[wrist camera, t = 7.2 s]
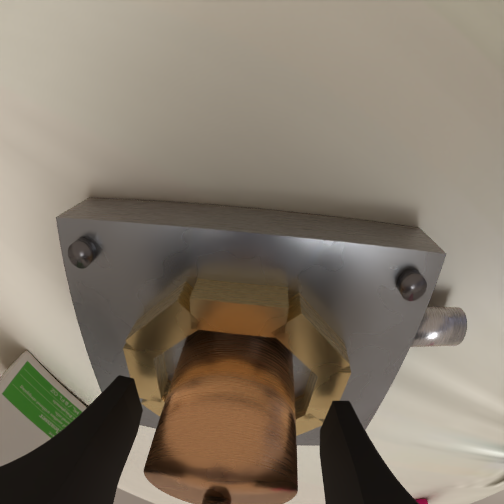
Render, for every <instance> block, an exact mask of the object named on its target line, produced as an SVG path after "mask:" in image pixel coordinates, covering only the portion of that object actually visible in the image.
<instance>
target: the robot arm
mask: <svg viewBox="0 0 504 504" xmlns="http://www.w3.org/2000/svg"><path fill="white" fill-rule="evenodd" d="M142 412H143V409H142V405H141V402H140V398H139V395H138V391H137V388H136V384H135V380H134V378H130V377H125V376H121V375H119V376H117V377H116V378H115V379H114V381H113V382H112V383H111V384H110V385H109V386H108V387H107V388H106V389H105V390H104V391H103V392H102V393H101V394H100V395H99V396H98V397H97V398H96V399H95V400H94V401H93V402H92V403H91V404H90V405H89V406H88V407H87V408H86V409H85V410H84V411H83V412H82V413H81V414H80V415H79V416H78V417H77V418H75V419H74V420H73V421H72V422H71V423H70V424H69V425H67V426H66V427H65V428H64V429H63V430H61V431H60V432H59V433H58V434H56V435H55V436H54V437H52V438H51V439H50V440H48V441H47V442H45V443H44V444H42V445H41V446H39V447H38V448H36V449H34V450H33V451H31V452H29V453H28V454H26V455H24V456H22V457H20V458H18V459H16V460H14V461H12V462H10V463H7V464H5V465H3V466H0V504H113V502H114V497H115V492H116V489H117V485H118V482H119V479H120V476H121V473H122V471H123V468H124V465H125V463H126V460H127V458H128V455H129V453H130V450H131V448H132V445H133V442H134V440H135V437H136V435H137V432H138V428H139V424H140V420H141V416H142ZM320 459H321V467H322V476H323V484H324V492H325V501H326V504H419V503H418V502H417V501H416V500H415V499H414V498H413V497H412V496H411V495H410V494H409V493H408V492H407V491H406V490H405V488H404V487H403V486H402V485H401V484H400V482H399V481H398V480H397V479H396V477H395V476H394V475H393V473H392V472H391V471H390V469H389V468H388V467H387V465H386V464H385V462H384V461H383V459H382V458H381V456H380V455H379V453H378V452H377V450H376V448H375V447H374V445H373V443H372V442H371V440H370V438H369V437H368V435H367V433H366V431H365V429H364V428H363V426H362V424H361V422H360V420H359V418H358V416H357V414H356V412H355V410H354V408H353V406H352V404H351V402H350V401H332V404H331V406H330V408H329V411H328V413H327V415H326V417H325V420H324V422H323V424H322V426H321V429H320Z"/></svg>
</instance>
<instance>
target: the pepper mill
mask: <svg viewBox="0 0 504 504" xmlns="http://www.w3.org/2000/svg"><path fill="white" fill-rule="evenodd" d="M416 501H417V502H418V503H419V504H428V502H427V500H426V499H417V500H416Z"/></svg>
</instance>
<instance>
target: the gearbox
mask: <svg viewBox="0 0 504 504" xmlns="http://www.w3.org/2000/svg"><path fill="white" fill-rule="evenodd" d="M56 220H57V227H58V233H59V240H60V245H61V251H62V256H63V261H64V266H65V271H66V276H67V280H68V285H69V289H70V293H71V297H72V301H73V305H74V309H75V313H76V317H77V320H78V324H79V327H80V331H81V334H82V337H83V340H84V344H85V347H86V350H87V353H88V356H89V359H90V362H91V365H92V368H93V370H94V373H95V376H96V379H97V381H98V384H99V387H100V389H101V392H103V391H104V390H105V389H106V388H107V387H108V386H109V385H110V384H111V383H112V382H113V381H114V379H115V378H116V377H117V376H119V375H121V376H125V377H130V378H134V380H135V384H136V388H137V391H138V395H139V398H140V402H141V405H142V409H143V412H142V416H141V420H140V424H139V425H143V426H147V427H152V428H157V425H158V422H159V419H160V416H161V413H162V409H163V406H164V403H165V400H166V397H167V394H168V391H169V388H170V385H171V382H172V379H173V376H174V373H175V370H176V367H177V364H178V361H179V358H180V355H181V352H182V349H183V346H184V343H185V341H186V339H187V337H188V336H189V335H191V334H192V333H194V332H195V331H197V330H198V329H199V330H207V331H215V332H223V333H232V334H242V335H252V336H262V337H274V338H277V339H278V340H279V341H280V342H281V343H282V344H283V345H284V346H285V347H286V348H287V349H289V350H290V351H291V352H292V357H293V373H294V393H295V416H296V443H297V445H320V429H321V426H322V424H323V422H324V420H325V417H326V415H327V413H328V411H329V408H330V406H331V404H332V401H350V402H351V404H352V406H353V408H354V410H355V412H356V414H357V416H358V418H359V420H360V422H361V424H362V426H363V428H364V429H366V428H367V426H368V425H369V423H370V421H371V420H372V418H373V416H374V415H375V413H376V411H377V409H378V408H379V406H380V404H381V402H382V401H383V399H384V397H385V395H386V394H387V392H388V390H389V388H390V386H391V384H392V382H393V380H394V379H395V377H396V375H397V373H398V371H399V369H400V367H401V365H402V363H403V361H404V359H405V357H406V354H407V352H408V350H409V348H410V347H425V346H454V345H458V344H460V343H461V342H462V341H463V339H464V337H465V334H466V330H467V319H466V315H465V313H464V311H463V310H462V309H461V308H457V307H427V306H428V304H429V301H430V299H431V296H432V293H433V291H434V288H435V285H436V283H437V280H438V277H439V274H440V271H441V268H442V265H443V262H444V259H445V256H446V253H445V252H444V251H443V250H442V249H441V248H440V247H439V246H438V245H437V244H436V243H435V242H434V241H433V240H432V239H431V238H430V237H428V236H427V235H426V234H425V233H424V232H423V231H422V230H421V229H420V228H416V227H410V226H403V225H396V224H388V223H381V222H373V221H366V220H358V219H350V218H342V217H333V216H325V215H316V214H307V213H297V212H288V211H278V210H268V209H257V208H246V207H234V206H222V205H210V204H196V203H182V202H167V201H150V200H131V199H109V198H87V199H86V200H84V201H82V202H81V203H79V204H77V205H76V206H74V207H72V208H71V209H69V210H67V211H66V212H64V213H62V214H61V215H59V216H58V217H56Z"/></svg>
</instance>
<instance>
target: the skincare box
mask: <svg viewBox="0 0 504 504" xmlns="http://www.w3.org/2000/svg"><path fill="white" fill-rule="evenodd" d="M86 408H87V407H86V406H85V405H83V404H82V403H81V402H80V401H79V400H78V399H77V398H75V397H74V396H73V395H72V394H71V393H70V392H69V391H68V390H66V389H65V388H64V387H63V386H62V385H61V384H60V383H59V382H58V381H57V380H56V379H55V378H54V377H53V376H52V375H51V374H50V373H49V372H48V371H47V370H46V369H45V368H44V367H43V366H42V365H41V364H40V363H39V362H38V361H37V360H36V359H35V358H34V357H33V356H32V355H31V354H30V353H29V352H28V351H25V352H24V353H23V354H21V355H20V356H19V357H18V358H17V359H16V360H15V362H14V363H13V364H12V365H11V366H10V367H9V368H8V369H7V370H6V371H5V372H4V374H3V375H2V376H1V377H0V466H3V465H5V464H7V463H10V462H12V461H14V460H16V459H18V458H20V457H22V456H24V455H26V454H28V453H29V452H31V451H33V450H34V449H36V448H38V447H39V446H41V445H42V444H44V443H45V442H47V441H48V440H50V439H51V438H52V437H54V436H55V435H56V434H58V433H59V432H60V431H61V430H63V429H64V428H65V427H66V426H67V425H69V424H70V423H71V422H72V421H73V420H74V419H75V418H77V417H78V416H79V415H80V414H81V413H82V412H83V411H84V410H85V409H86Z"/></svg>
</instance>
